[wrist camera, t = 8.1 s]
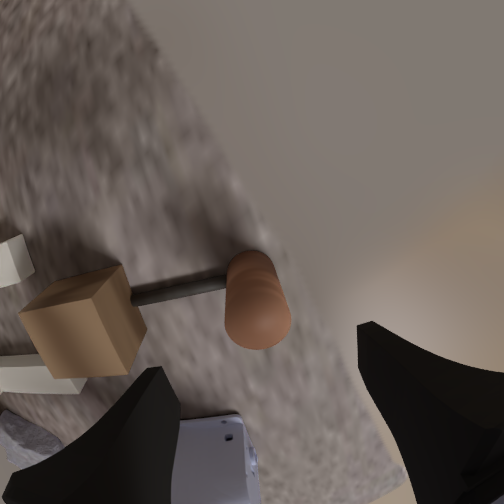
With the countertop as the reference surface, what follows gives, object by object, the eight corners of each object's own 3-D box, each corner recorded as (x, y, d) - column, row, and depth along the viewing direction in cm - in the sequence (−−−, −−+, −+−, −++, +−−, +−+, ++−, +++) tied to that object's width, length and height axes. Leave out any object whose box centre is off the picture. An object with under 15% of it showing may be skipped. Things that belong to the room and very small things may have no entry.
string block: (266, 230, 18) (280, 264, 13) (281, 302, 20) (298, 357, 14) (54, 281, 19) (9, 320, 13) (81, 339, 20) (48, 388, 15)
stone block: (69, 427, 26) (-3, 402, 23) (64, 460, 22) (-13, 431, 18) (75, 466, 30) (15, 446, 26) (73, 492, 26) (9, 471, 22)
